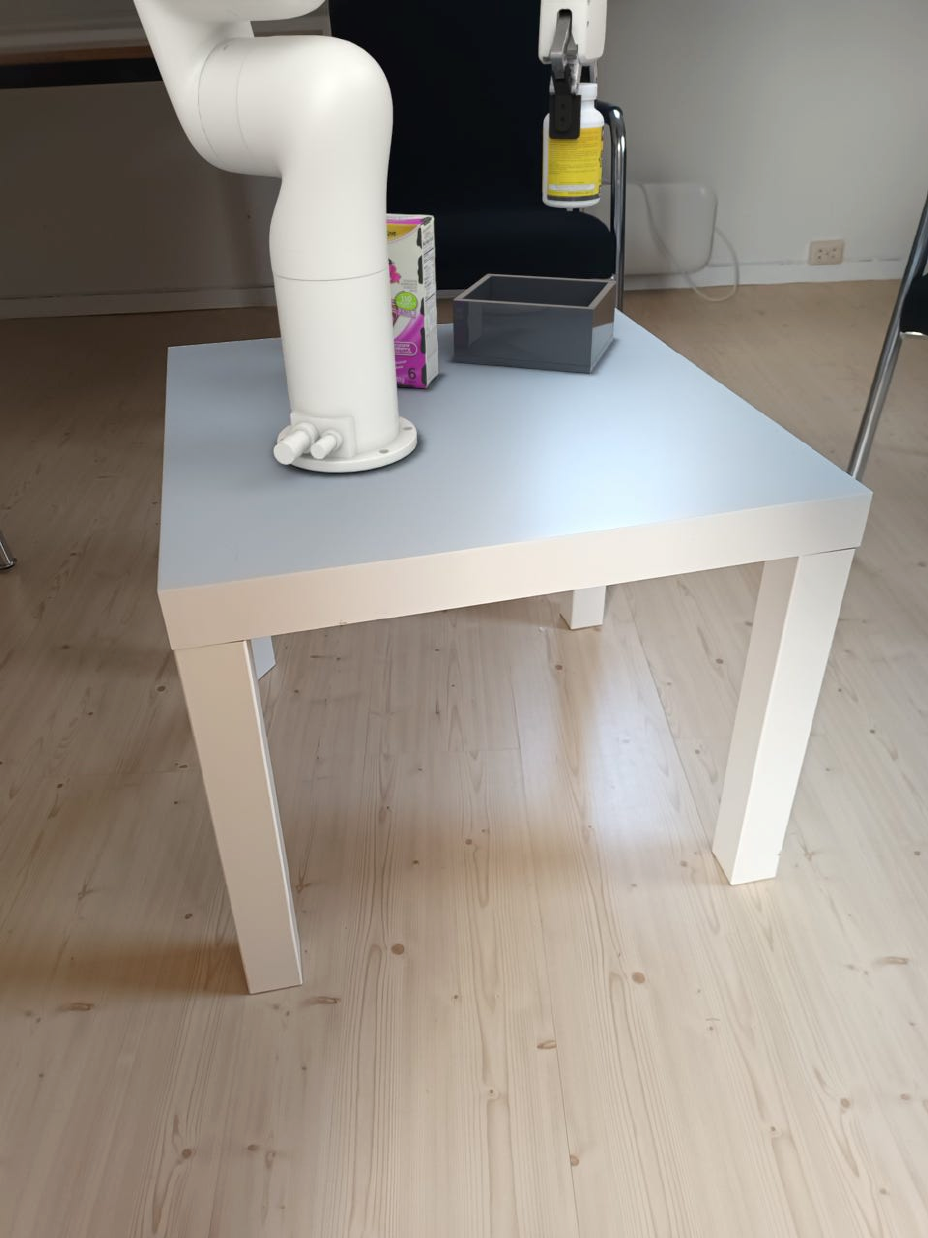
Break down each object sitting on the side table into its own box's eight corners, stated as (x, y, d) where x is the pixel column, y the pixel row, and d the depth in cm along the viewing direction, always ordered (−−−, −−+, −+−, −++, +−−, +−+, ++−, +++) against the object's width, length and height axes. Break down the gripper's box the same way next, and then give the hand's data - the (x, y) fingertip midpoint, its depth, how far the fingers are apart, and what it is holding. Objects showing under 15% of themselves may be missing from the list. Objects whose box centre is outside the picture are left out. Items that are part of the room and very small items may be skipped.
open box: (590, 373, 100) (593, 309, 96) (454, 361, 104) (452, 299, 100) (612, 340, 110) (616, 280, 106) (487, 330, 114) (487, 273, 110)
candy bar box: (327, 384, 99) (310, 219, 90) (344, 369, 103) (329, 210, 94) (428, 390, 96) (420, 221, 87) (441, 375, 100) (435, 212, 91)
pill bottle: (602, 209, 100) (609, 85, 93) (542, 210, 100) (545, 87, 94) (597, 198, 105) (603, 81, 99) (540, 199, 106) (543, 82, 99)
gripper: (564, -67, 97) (559, 125, 107) (516, -77, 83) (515, 144, 93) (635, -71, 95) (623, 126, 105) (598, -82, 81) (588, 145, 91)
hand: (572, 132), depth 99 cm, fingers closed on pill bottle, 6 cm apart
